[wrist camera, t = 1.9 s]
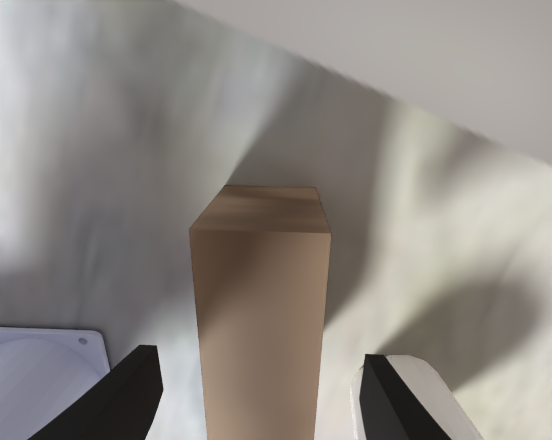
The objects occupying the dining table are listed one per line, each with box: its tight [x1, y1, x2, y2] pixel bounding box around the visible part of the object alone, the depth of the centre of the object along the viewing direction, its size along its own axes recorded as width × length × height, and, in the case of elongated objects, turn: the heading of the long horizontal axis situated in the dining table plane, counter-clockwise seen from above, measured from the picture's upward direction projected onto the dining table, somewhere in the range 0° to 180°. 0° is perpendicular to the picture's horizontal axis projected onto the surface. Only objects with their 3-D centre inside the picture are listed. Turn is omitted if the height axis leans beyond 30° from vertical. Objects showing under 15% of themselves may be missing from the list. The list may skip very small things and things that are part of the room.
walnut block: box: [189, 185, 331, 440], centre depth 14 cm, size 4×10×6 cm, turn 179°
